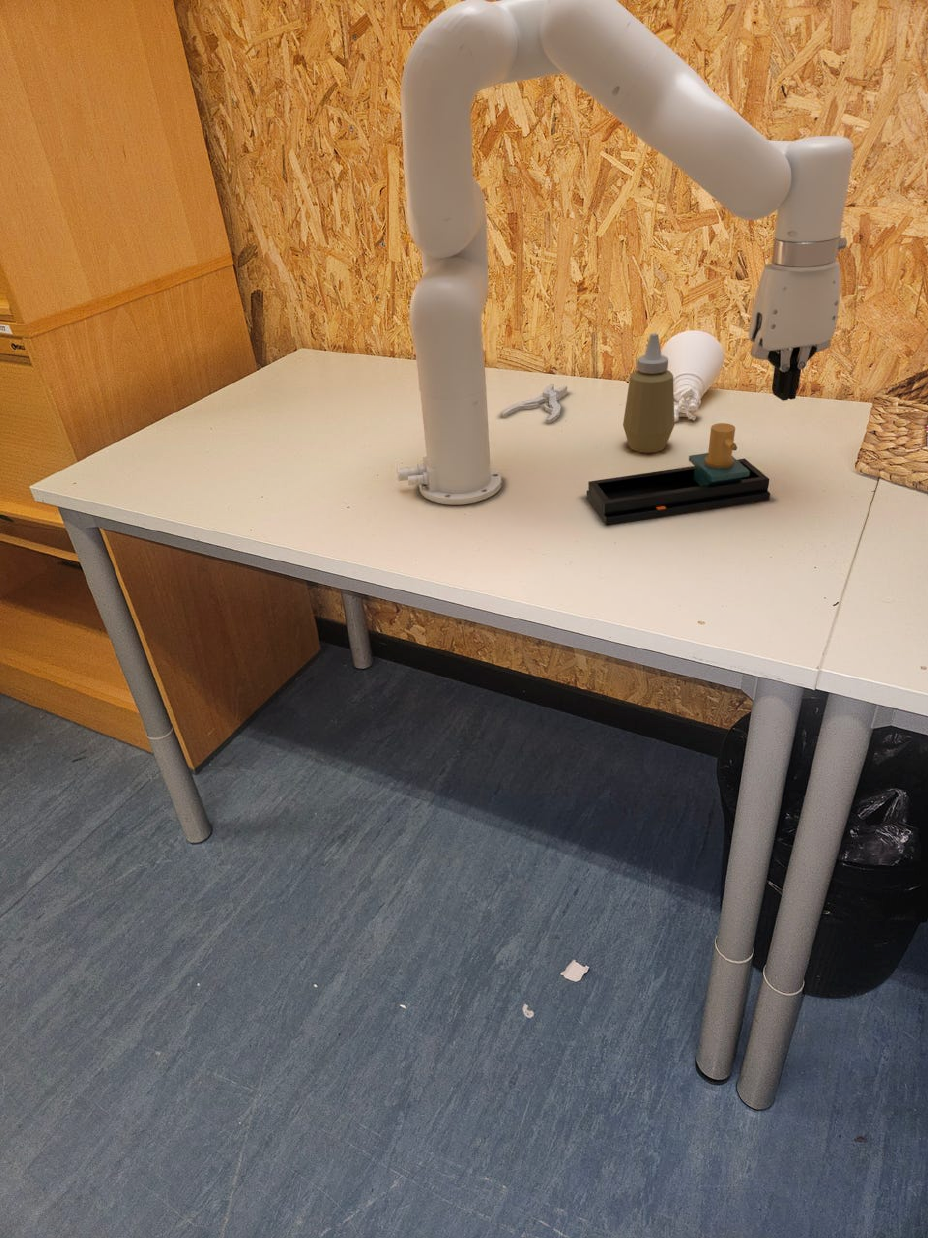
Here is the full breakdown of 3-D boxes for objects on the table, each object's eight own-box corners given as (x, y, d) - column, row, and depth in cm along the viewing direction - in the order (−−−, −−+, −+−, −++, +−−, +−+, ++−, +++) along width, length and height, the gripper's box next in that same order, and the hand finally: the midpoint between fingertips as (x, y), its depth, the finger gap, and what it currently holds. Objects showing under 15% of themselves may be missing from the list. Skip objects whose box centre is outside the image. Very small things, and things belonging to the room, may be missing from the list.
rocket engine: (689, 371, 133) (698, 317, 144) (634, 410, 141) (646, 355, 152) (732, 419, 137) (737, 363, 148) (676, 454, 145) (685, 398, 156)
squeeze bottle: (672, 457, 129) (682, 342, 119) (620, 456, 131) (625, 342, 121) (672, 437, 136) (681, 326, 126) (623, 436, 137) (628, 327, 127)
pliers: (500, 408, 148) (535, 381, 158) (501, 417, 148) (535, 389, 159) (550, 415, 143) (583, 387, 154) (550, 423, 144) (583, 395, 155)
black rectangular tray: (606, 525, 112) (606, 506, 111) (586, 497, 120) (586, 479, 118) (769, 500, 115) (772, 481, 114) (740, 474, 123) (742, 456, 121)
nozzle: (710, 498, 114) (716, 440, 109) (687, 475, 120) (692, 420, 115) (747, 492, 114) (756, 435, 110) (723, 470, 121) (729, 415, 116)
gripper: (843, 240, 105) (819, 380, 115) (733, 254, 103) (719, 395, 114) (878, 250, 99) (850, 397, 109) (762, 265, 97) (745, 414, 108)
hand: (783, 396), depth 112 cm, fingers closed
